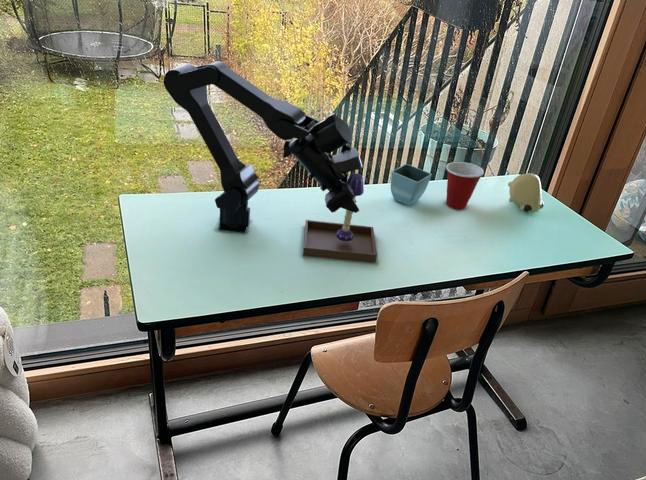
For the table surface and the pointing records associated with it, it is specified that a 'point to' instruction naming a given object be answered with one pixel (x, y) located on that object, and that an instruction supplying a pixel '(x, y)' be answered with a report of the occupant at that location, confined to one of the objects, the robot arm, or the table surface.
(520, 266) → the table surface
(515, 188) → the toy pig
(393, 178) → the flower pot
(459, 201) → the plastic cup
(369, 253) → the tray
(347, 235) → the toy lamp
